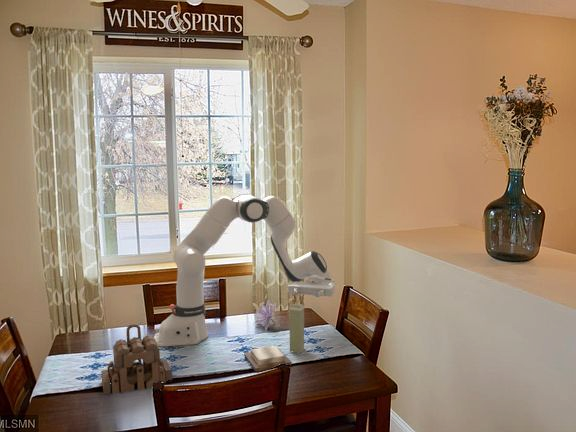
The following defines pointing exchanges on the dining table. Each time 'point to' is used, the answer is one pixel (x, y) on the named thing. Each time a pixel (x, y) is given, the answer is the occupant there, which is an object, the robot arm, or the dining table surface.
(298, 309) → the olive pillar
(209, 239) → the robot arm
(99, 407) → the dining table surface
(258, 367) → the plinth
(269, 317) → the water lily
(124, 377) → the wooden puzzle
